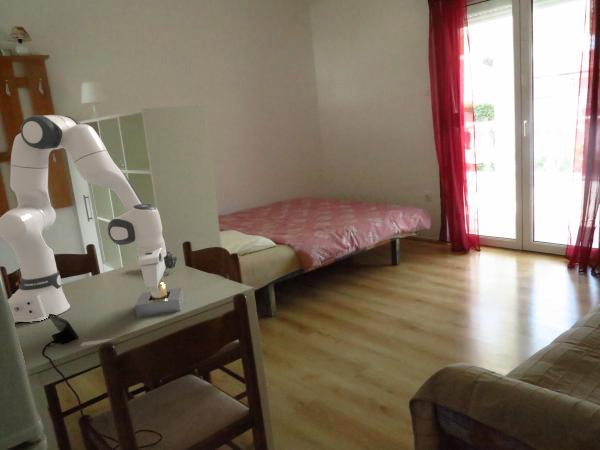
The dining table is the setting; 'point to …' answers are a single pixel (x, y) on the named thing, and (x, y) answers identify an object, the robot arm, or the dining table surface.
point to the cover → (161, 291)
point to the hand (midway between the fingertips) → (158, 291)
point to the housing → (159, 303)
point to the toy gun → (170, 260)
